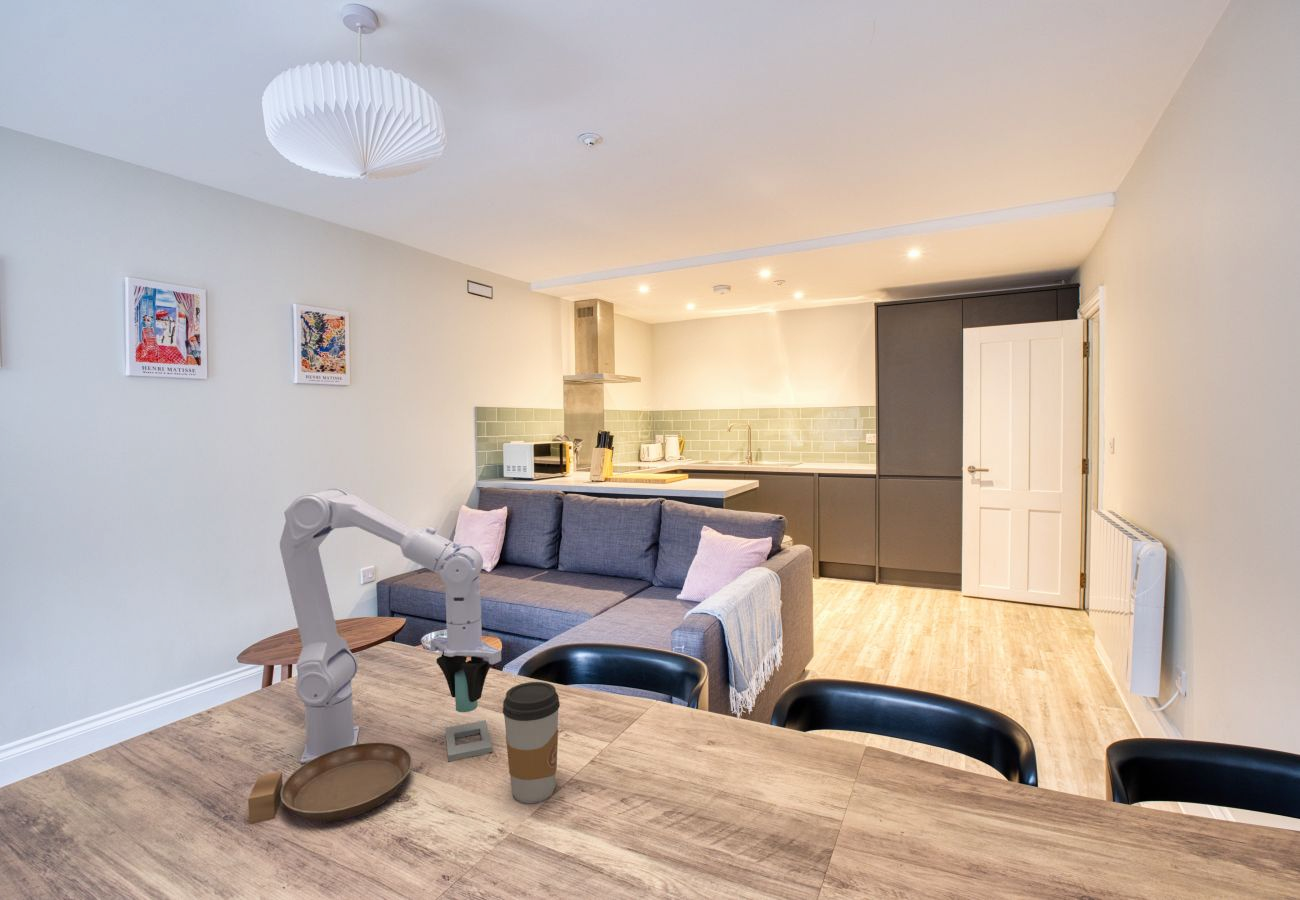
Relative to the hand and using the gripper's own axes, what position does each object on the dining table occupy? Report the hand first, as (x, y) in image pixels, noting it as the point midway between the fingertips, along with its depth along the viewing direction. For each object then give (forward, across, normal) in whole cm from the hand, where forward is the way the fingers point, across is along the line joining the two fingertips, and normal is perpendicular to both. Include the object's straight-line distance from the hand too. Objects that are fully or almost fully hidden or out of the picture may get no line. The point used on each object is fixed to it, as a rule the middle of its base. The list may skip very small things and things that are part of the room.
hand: (466, 697), depth 104 cm
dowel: (+2, 0, 0) cm, 2 cm away
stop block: (+8, -13, -26) cm, 30 cm away
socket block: (+8, 0, 0) cm, 8 cm away
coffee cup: (+8, +19, -6) cm, 22 cm away
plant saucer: (+8, -6, -18) cm, 21 cm away
